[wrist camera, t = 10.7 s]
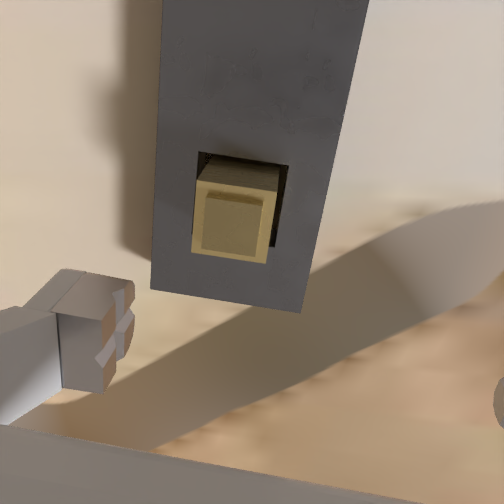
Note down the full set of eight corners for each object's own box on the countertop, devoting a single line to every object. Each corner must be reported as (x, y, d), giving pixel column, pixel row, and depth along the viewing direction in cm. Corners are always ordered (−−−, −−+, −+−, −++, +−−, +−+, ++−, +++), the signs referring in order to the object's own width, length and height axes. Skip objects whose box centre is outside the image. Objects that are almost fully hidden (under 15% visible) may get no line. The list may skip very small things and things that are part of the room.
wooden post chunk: (280, 156, 29) (276, 196, 22) (271, 215, 31) (265, 269, 24) (217, 147, 29) (194, 183, 22) (212, 206, 31) (188, 257, 24)
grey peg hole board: (427, -310, 20) (449, -364, 17) (299, 290, 33) (300, 313, 30) (196, -343, 20) (180, -401, 17) (161, 267, 33) (150, 288, 30)
